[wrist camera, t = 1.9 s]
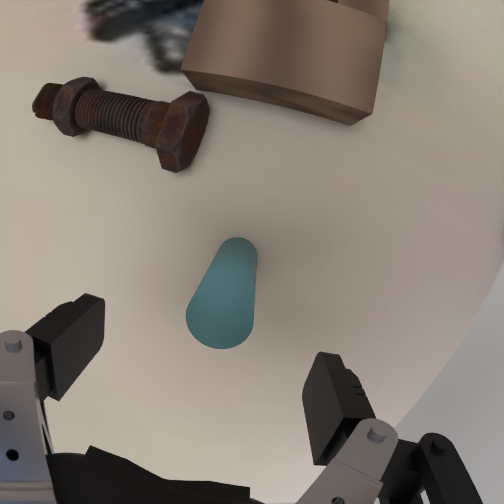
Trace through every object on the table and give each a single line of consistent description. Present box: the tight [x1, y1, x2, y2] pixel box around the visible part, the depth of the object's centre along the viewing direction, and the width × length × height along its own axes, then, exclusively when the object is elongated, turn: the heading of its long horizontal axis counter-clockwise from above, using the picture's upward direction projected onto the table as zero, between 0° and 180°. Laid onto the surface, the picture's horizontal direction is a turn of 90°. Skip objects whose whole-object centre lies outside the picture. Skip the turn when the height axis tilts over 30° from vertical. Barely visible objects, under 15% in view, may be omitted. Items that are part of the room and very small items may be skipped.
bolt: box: [32, 77, 209, 173], centre depth 20 cm, size 6×5×15 cm
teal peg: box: [186, 237, 257, 349], centre depth 19 cm, size 3×3×11 cm
